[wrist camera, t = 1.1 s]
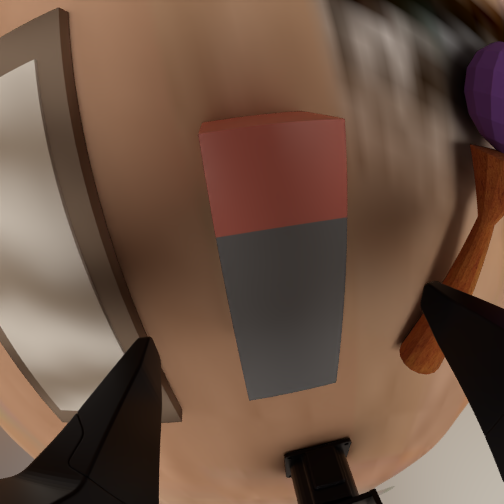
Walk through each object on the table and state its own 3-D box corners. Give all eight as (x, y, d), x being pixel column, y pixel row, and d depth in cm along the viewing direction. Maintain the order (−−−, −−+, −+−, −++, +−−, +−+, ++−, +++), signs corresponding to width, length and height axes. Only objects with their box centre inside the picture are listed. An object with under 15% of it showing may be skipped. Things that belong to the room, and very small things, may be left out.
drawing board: (182, 410, 20) (181, 423, 18) (65, 412, 19) (61, 424, 18) (68, 12, 8) (56, 6, 7) (-71, 98, 8) (-85, 101, 7)
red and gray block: (310, 321, 17) (336, 382, 13) (239, 334, 17) (249, 400, 13) (300, 110, 12) (344, 118, 8) (202, 122, 12) (198, 134, 8)
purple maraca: (392, 392, 16) (517, 19, 5) (373, 325, 21) (448, 27, 10) (465, 386, 16) (589, 80, 5) (439, 326, 21) (522, 66, 10)
